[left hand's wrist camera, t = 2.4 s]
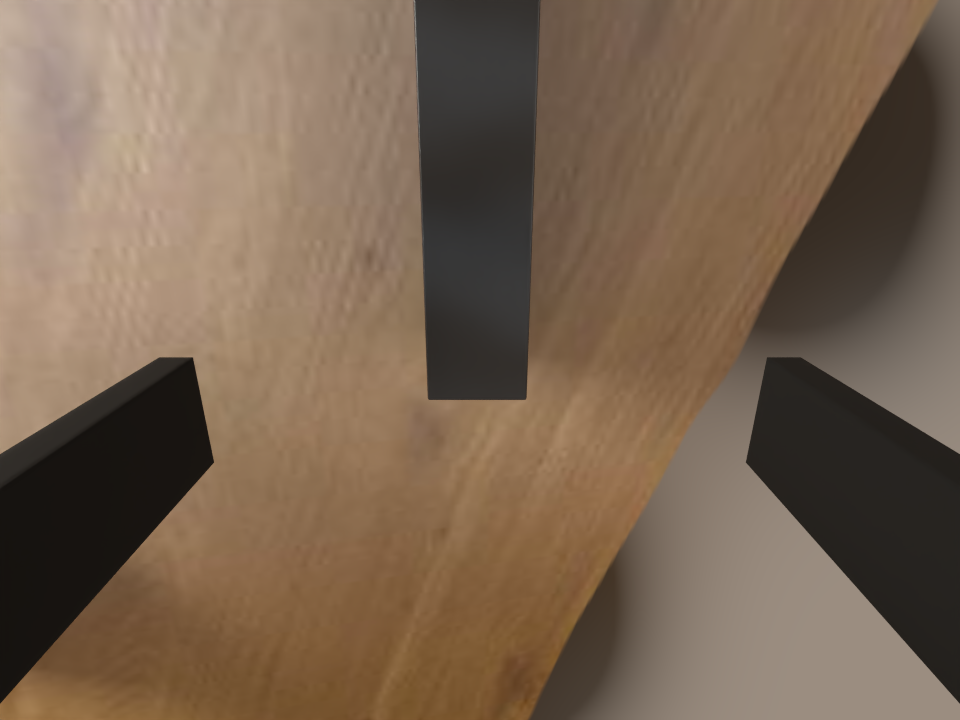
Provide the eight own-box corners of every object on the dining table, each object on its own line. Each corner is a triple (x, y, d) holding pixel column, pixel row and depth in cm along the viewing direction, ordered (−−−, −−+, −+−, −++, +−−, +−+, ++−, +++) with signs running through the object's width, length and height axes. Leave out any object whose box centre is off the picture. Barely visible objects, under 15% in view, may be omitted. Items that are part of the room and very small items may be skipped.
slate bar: (514, 338, 29) (526, 400, 21) (440, 338, 29) (427, 400, 21) (530, -320, 20) (562, -611, 12) (424, -321, 20) (391, -613, 12)
